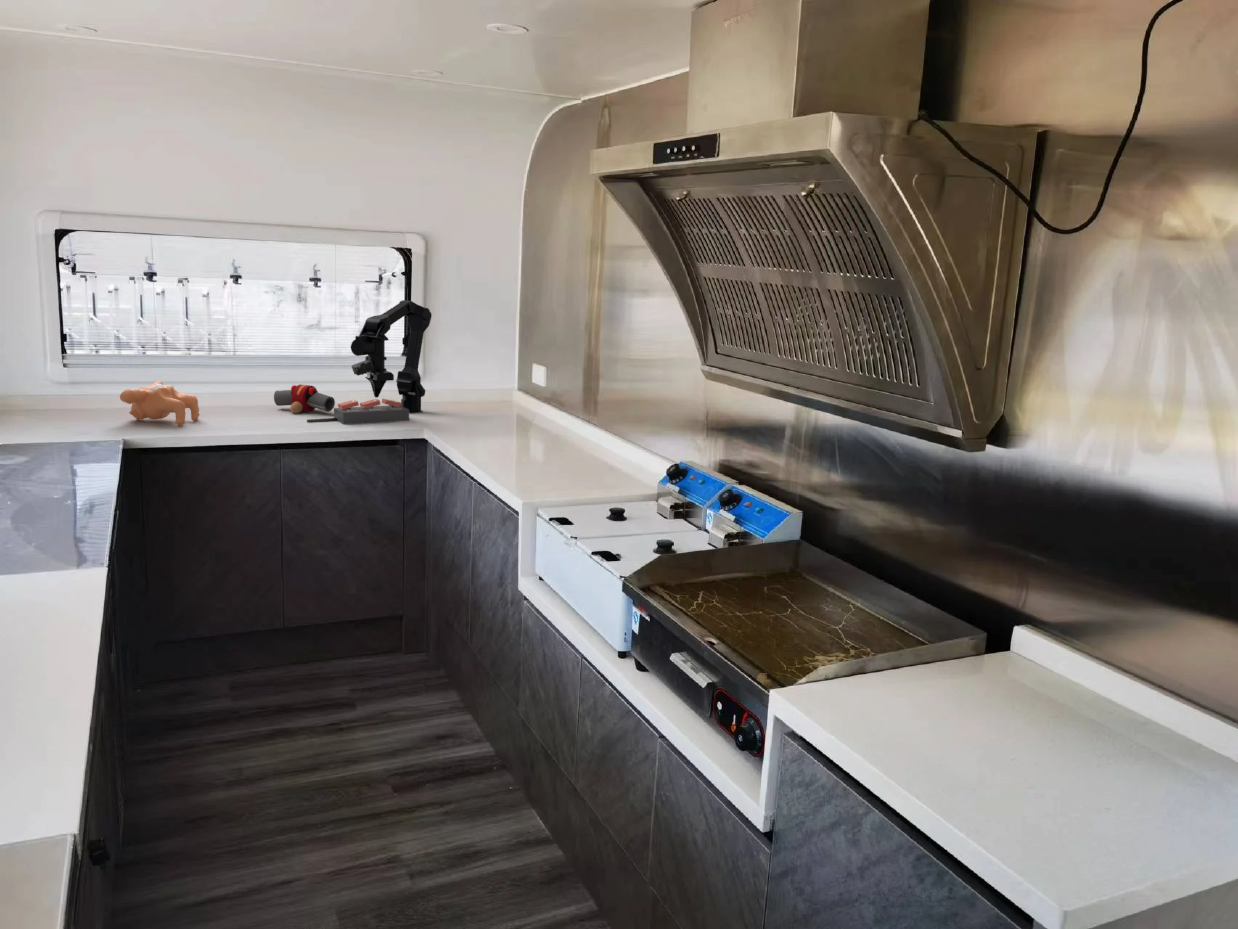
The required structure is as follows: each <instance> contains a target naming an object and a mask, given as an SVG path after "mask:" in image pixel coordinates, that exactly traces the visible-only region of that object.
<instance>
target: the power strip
mask: <svg viewBox="0 0 1238 929" xmlns="http://www.w3.org/2000/svg"><path fill="white" fill-rule="evenodd" d="M335 421H337V422H339V423H340V424H343V425H349V424H350V425H353V424H368V423H371V424H372V423H386V422H387V423H389V422H390V421H392V422H404V421H405V422H407V421H408V422H409V421H410V413H409V409H407V408H404V407H402V406H401V407H399V406H393V405H376V406H373V407H369V408H365V409H364V408H362V407H361V406H354V407H351V408H347V409H343V410H342V409H340V408H339V407H334V408H333V417H326V418H309V419H306V423H317V422H335ZM388 421H389V422H388Z"/></svg>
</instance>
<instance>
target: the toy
mask: <svg viewBox="0 0 1238 929" xmlns="http://www.w3.org/2000/svg"><path fill="white" fill-rule="evenodd" d="M273 401H274V404H275V405H276V406H277V407H278V406H279V407H281V406H284V407H285V406H290V412H291V413H292V414H295V415H297V414H300V413H301V412H306V413H312V412H314V410H315V409H318V410H320V411H323V412H326V413H329V412H332V411H333V410H334V408H335V404H336V401H335V398H334V397H333V396H330V395H326V394H323V393H320V392H319V391H318V389H317V388H316V386H314V385H308V384H298V385H294V384H293V385H292V386H291V387H290V389H281V390H280V389H279V390H275V391H274V394H273Z"/></svg>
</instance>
